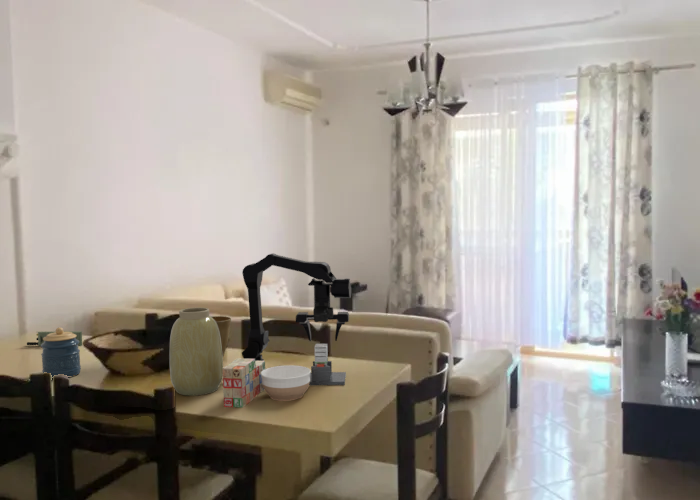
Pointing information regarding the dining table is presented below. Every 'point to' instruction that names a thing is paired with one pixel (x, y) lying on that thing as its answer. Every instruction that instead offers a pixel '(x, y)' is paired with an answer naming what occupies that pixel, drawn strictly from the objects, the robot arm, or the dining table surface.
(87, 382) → the dining table surface
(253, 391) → the stack of blocks
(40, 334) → the handheld radio
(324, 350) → the column
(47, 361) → the canister
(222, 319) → the plant pot
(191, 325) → the vase
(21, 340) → the dining table surface
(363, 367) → the dining table surface
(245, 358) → the robot arm
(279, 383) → the bowl
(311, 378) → the grey stepped stand
